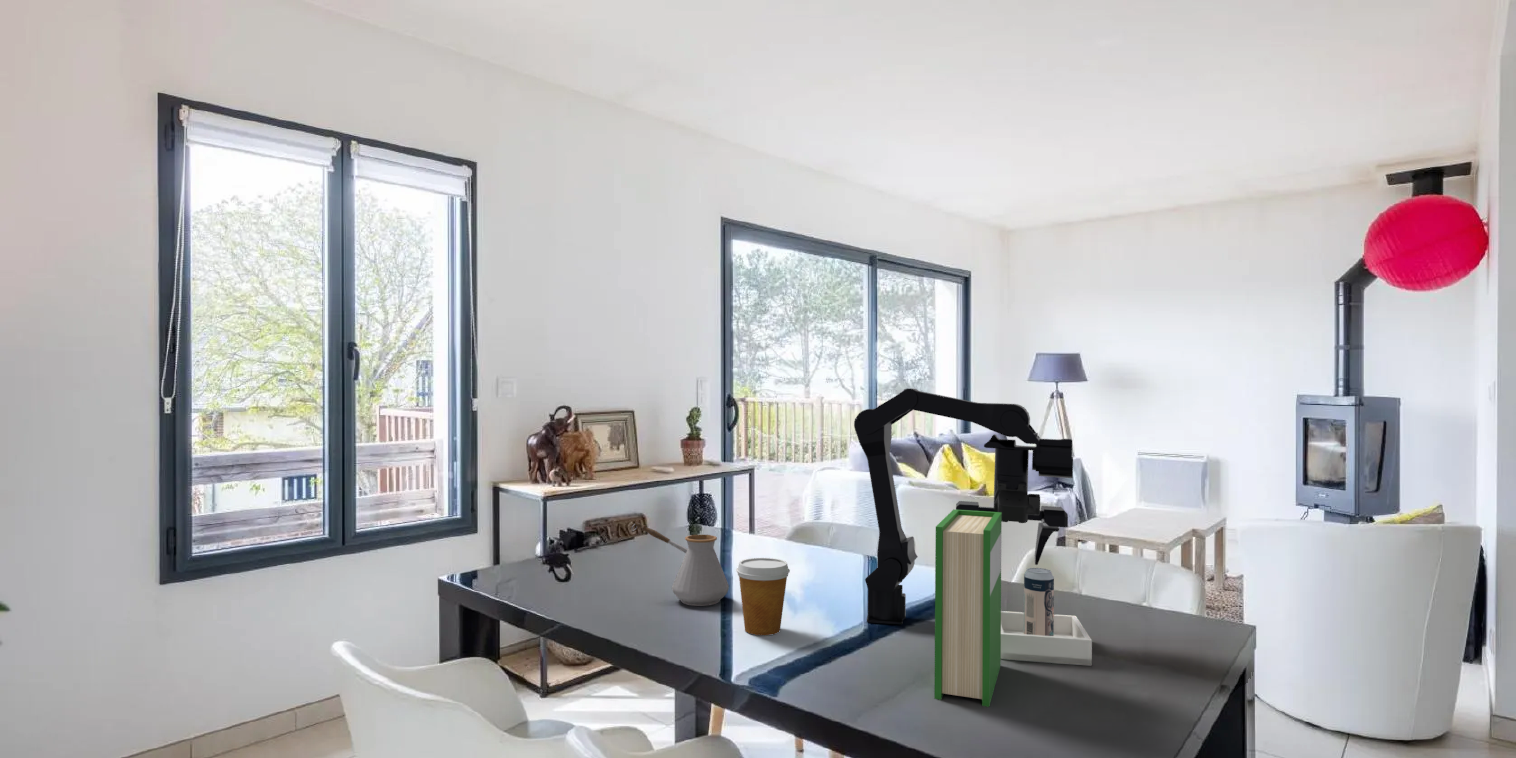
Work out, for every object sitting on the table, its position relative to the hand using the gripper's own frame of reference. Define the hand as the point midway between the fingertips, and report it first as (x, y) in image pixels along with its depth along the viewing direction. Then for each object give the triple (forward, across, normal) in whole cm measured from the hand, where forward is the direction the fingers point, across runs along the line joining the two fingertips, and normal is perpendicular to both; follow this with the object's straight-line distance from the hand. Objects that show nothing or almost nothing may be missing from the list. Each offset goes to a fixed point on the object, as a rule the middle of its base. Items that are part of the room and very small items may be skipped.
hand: (1008, 562), depth 143 cm
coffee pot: (+14, -64, +7) cm, 66 cm away
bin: (+12, +5, -7) cm, 15 cm away
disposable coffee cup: (+14, -42, -10) cm, 45 cm away
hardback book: (+13, -7, -26) cm, 30 cm away
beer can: (+12, +5, -7) cm, 15 cm away
